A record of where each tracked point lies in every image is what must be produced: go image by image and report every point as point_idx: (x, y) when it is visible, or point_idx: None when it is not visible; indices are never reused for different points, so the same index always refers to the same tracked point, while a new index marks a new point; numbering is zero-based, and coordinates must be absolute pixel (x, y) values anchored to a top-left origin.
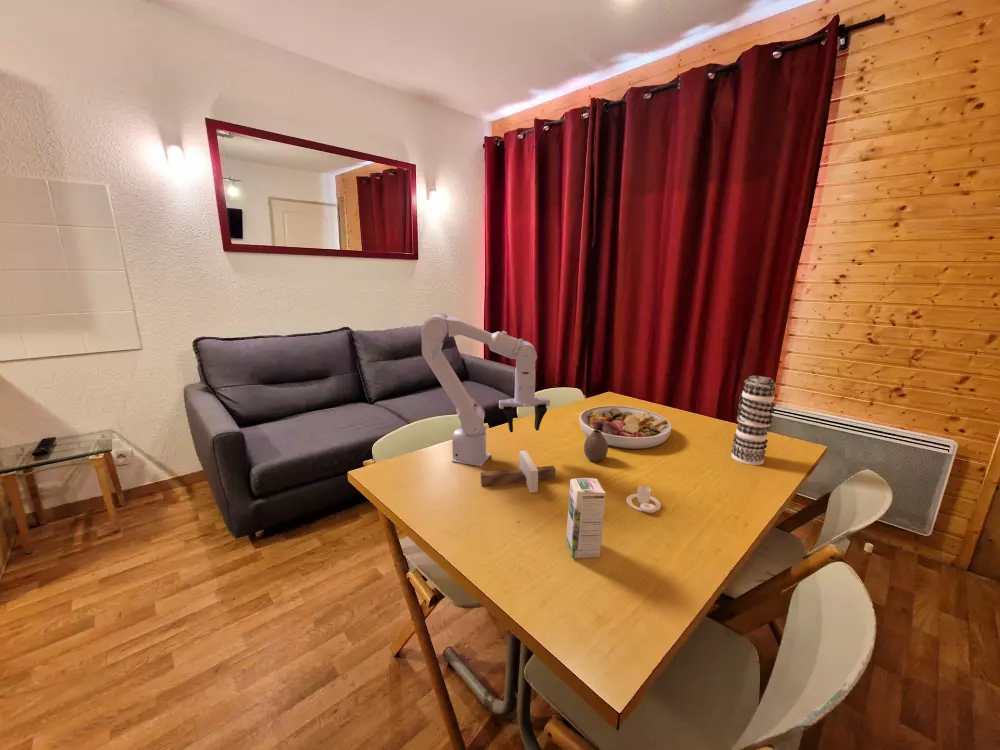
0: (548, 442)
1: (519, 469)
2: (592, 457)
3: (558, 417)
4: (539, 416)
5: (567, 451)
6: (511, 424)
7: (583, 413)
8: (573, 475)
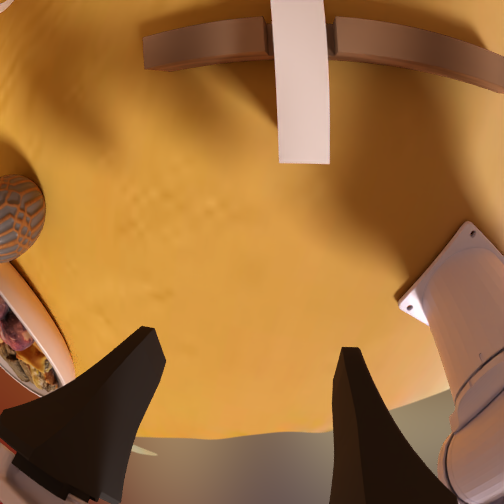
0: None
1: (348, 45)
2: (23, 180)
3: None
4: (74, 405)
5: (97, 265)
6: (366, 400)
7: None
8: (95, 78)
